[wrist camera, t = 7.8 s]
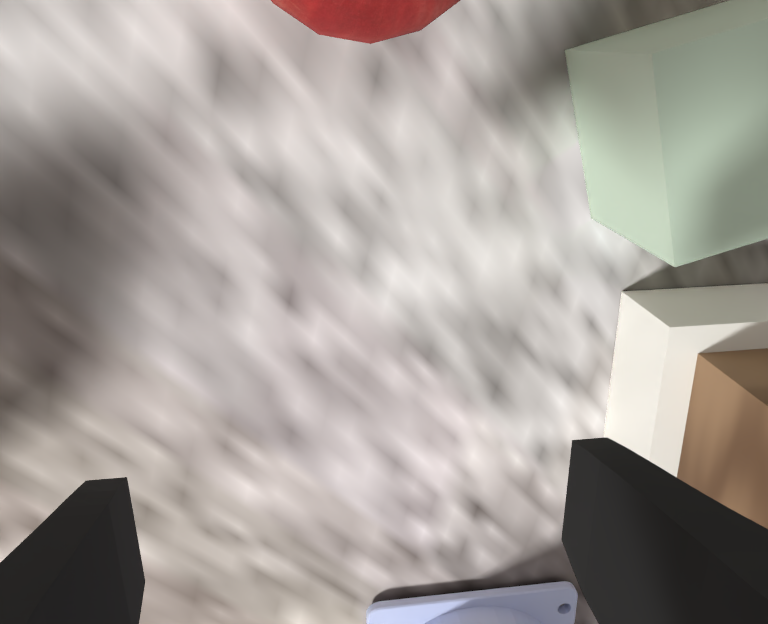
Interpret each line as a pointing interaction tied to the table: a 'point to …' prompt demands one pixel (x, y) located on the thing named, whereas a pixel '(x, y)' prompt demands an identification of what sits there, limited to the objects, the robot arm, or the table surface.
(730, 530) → the robot arm
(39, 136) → the table surface
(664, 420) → the cream slab
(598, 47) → the sage cube
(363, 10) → the onion
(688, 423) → the walnut cube
